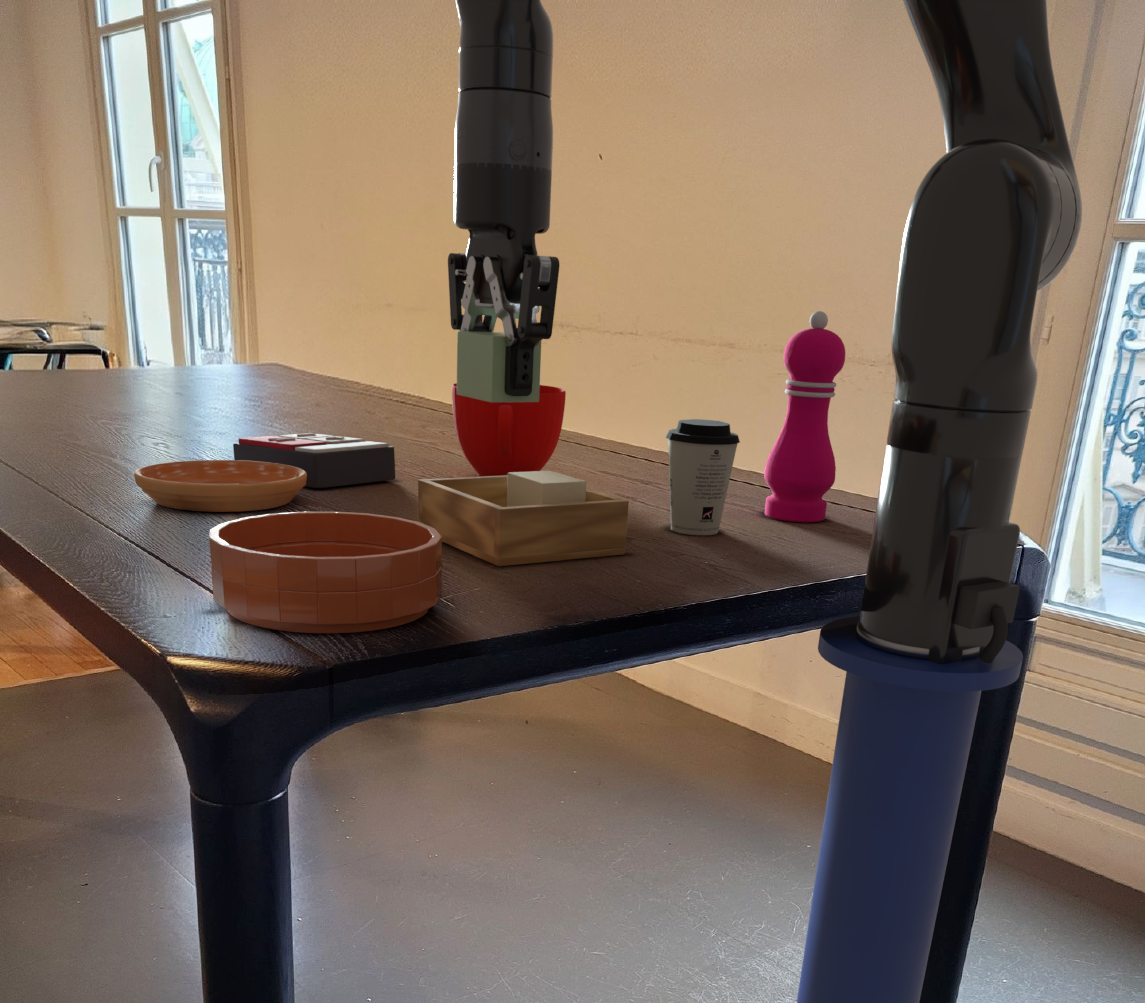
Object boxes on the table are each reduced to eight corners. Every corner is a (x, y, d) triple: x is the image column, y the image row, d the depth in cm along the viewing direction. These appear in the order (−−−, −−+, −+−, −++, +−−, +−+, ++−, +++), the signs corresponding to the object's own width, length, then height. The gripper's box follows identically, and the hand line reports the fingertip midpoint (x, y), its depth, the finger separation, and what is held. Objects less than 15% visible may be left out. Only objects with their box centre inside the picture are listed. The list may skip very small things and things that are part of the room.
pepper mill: (801, 526, 115) (828, 312, 107) (745, 513, 120) (767, 308, 112) (843, 519, 119) (872, 313, 112) (788, 507, 124) (812, 309, 116)
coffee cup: (726, 540, 106) (737, 429, 103) (652, 533, 108) (661, 423, 104) (734, 526, 113) (745, 421, 109) (664, 520, 114) (672, 416, 110)
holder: (625, 554, 99) (629, 500, 97) (498, 566, 92) (499, 509, 90) (536, 522, 110) (538, 473, 108) (418, 531, 103) (417, 479, 102)
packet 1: (539, 402, 94) (541, 337, 92) (491, 402, 92) (493, 335, 90) (502, 394, 98) (504, 332, 96) (456, 394, 96) (457, 331, 94)
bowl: (479, 621, 77) (480, 547, 75) (259, 648, 69) (254, 567, 68) (384, 571, 89) (383, 506, 87) (186, 589, 81) (180, 518, 79)
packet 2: (583, 538, 101) (586, 481, 99) (540, 542, 99) (542, 483, 97) (547, 525, 106) (550, 470, 104) (505, 528, 103) (507, 472, 101)
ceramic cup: (443, 489, 124) (443, 392, 120) (455, 465, 140) (456, 379, 136) (562, 494, 125) (566, 399, 121) (561, 470, 140) (565, 385, 136)
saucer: (138, 487, 116) (135, 457, 115) (299, 487, 121) (297, 458, 120) (135, 518, 102) (131, 484, 101) (317, 516, 107) (315, 484, 106)
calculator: (311, 430, 135) (395, 439, 126) (313, 468, 136) (397, 479, 127) (230, 436, 127) (314, 446, 118) (234, 475, 129) (317, 488, 119)
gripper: (595, 164, 85) (583, 400, 91) (499, 171, 96) (494, 382, 102) (508, 153, 81) (501, 401, 87) (418, 162, 92) (418, 382, 98)
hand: (497, 390), depth 95 cm, fingers closed on packet 1, 6 cm apart
